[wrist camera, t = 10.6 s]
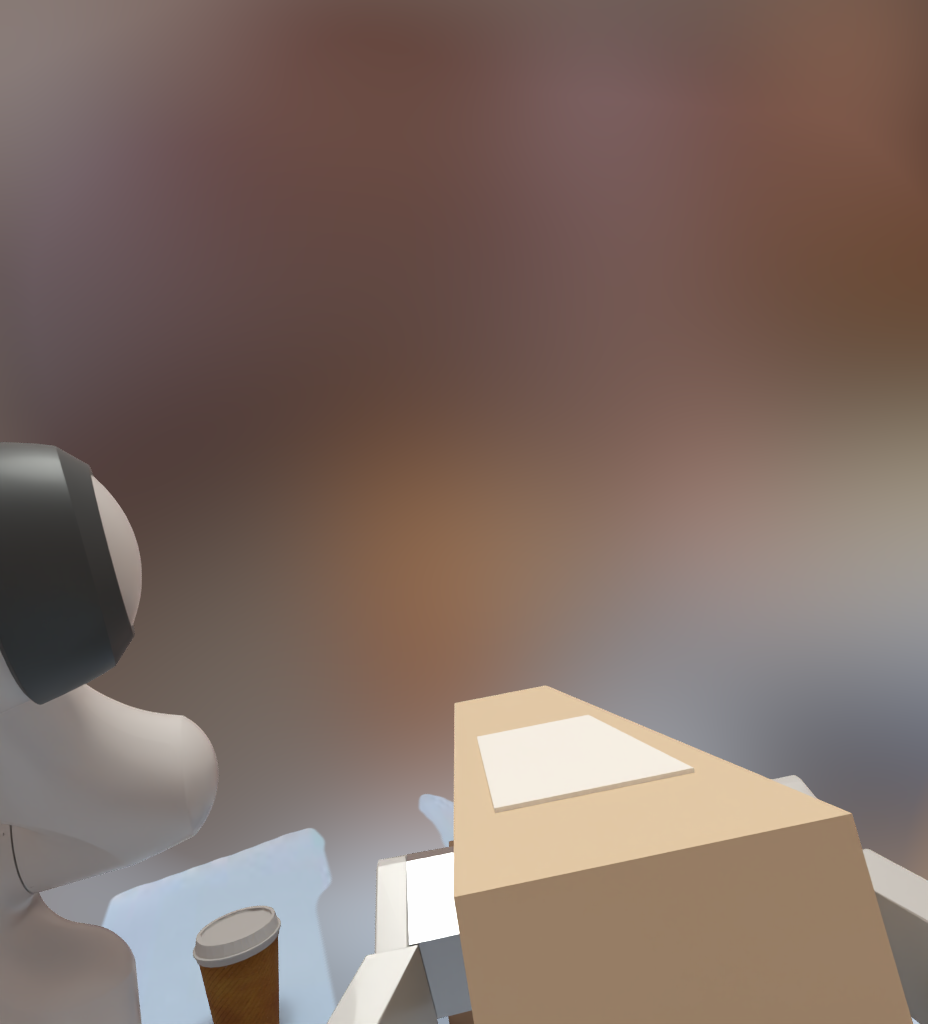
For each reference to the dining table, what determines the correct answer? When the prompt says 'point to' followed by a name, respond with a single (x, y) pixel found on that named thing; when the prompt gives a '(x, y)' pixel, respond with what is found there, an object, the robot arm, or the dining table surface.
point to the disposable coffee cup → (241, 966)
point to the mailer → (652, 880)
